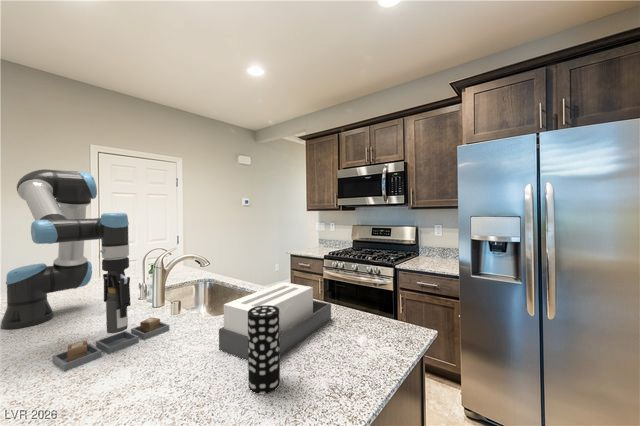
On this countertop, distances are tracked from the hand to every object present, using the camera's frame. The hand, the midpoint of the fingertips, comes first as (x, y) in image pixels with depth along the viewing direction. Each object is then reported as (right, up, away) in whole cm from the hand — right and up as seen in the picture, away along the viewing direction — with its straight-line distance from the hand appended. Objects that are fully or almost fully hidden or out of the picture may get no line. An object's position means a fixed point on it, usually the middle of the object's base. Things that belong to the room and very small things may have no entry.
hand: (117, 324), depth 97 cm
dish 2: (0, -8, 0) cm, 8 cm away
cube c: (-6, -7, -9) cm, 13 cm away
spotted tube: (+55, -8, -21) cm, 59 cm away
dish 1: (-6, -8, -9) cm, 13 cm away
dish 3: (+6, -7, +10) cm, 13 cm away
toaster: (+53, -7, +9) cm, 55 cm away
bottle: (0, -2, 0) cm, 2 cm away
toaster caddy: (+55, -7, +9) cm, 57 cm away
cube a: (+6, -7, +10) cm, 13 cm away
